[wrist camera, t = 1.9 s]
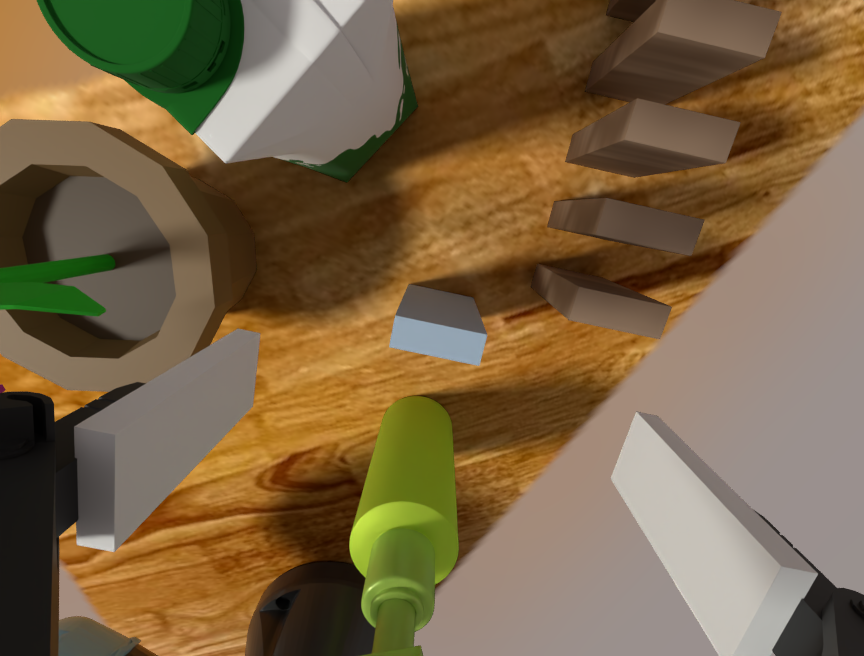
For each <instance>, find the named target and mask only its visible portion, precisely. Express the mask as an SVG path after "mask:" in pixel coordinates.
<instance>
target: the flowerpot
mask: <svg viewBox="0 0 864 656" xmlns="http://www.w3.org/2000/svg"><path fill="white" fill-rule="evenodd" d="M256 270H257V265H256V252H255V238H254V233H253V231H252V229H251V228H250V226H249V225H248V223H247V221H246V220H245V218H244V217H243V215H242V213H241V212H240V210H239V209H238V207H237V205H236V204H235V202H234V200H232V199H230V198H229V197H227V196H225V195H224V194H222V193H220V192H219V191H217V190H215V189H214V188H212V187H211V186H209V185H207V184H206V183H204V182H202V181H201V180H199V179H196V178H193V177H191V176H190V175H189V173H188V172H187V170H186V169H184V168H183V167H181V166H179V165H178V164H176V163H174V162H173V161H171V160H170V159H168V158H166V157H165V156H163V155H161V154H160V153H158V152H156V151H155V150H153V149H152V148H150V147H148V146H147V145H145V144H143V143H142V142H140V141H138V140H137V139H135V138H133V137H132V136H130V135H129V134H127V133H125V132H124V131H122V130H120V129H116V128H112V127H108V126H104V125H100V124H96V123H92V122H81V121H52V120H23V119H11V120H9V121H8V122H7V123H5V124H4V125H2V126H1V127H0V353H1V355H2V356H3V357H5V358H7V359H9V360H11V361H13V362H15V363H17V364H19V365H21V366H23V367H24V368H26V369H28V370H30V371H32V372H34V373H36V374H38V375H40V376H42V377H44V378H46V379H48V380H49V381H51V382H53V383H55V384H57V385H59V386H61V387H63V388H65V389H67V390H81V391H106V392H110V391H112V390H113V389H115V388H118V387H122V386H125V385H128V384H132V383H135V382H142V383H148V382H149V381H151V380H153V379H154V378H156V377H158V376H159V375H161V374H163V373H164V372H166V371H168V370H169V369H171V368H173V367H175V366H176V365H178V364H180V363H181V362H183V361H185V360H186V359H188V358H190V357H191V356H193V355H195V354H196V353H198V352H200V351H201V350H203V349H205V348H206V347H208V346H210V344H211V342H212V340H213V338H214V336H215V334H216V332H217V330H218V328H219V326H220V324H221V322H222V320H223V318H224V316H225V314H226V312H227V311H228V310H229V309H230V308H231V307H233V306H234V305H235V304H236V303H237V302H239V301H240V300H241V299H242V298H243V296H244V294H245V292H246V290H247V288H248V286H249V284H250V282H251V280H252V278H253V276H254V274H255V272H256ZM3 391H5V388H4V387H3V385H0V393H2V392H3Z"/></svg>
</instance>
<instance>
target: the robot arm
mask: <svg viewBox="0 0 864 656" xmlns="http://www.w3.org/2000/svg"><path fill="white" fill-rule="evenodd" d="M259 342H260V333H256V332H251V331H247V330H242V329H236V330H235V331H233V332H231V333H230V334H228V335H226V336H225V337H223V338H221V339H220V340H218V341H216V342H215V343H213V344H211V345H210V346H208V347H206V348H205V349H203V350H201V351H200V352H198V353H196V354H195V355H193V356H191V357H190V358H188V359H186V360H185V361H183V362H181V363H180V364H178V365H176V366H175V367H173V368H171V369H169V370H168V371H166V372H164V373H163V374H161V375H159V376H158V377H156V378H154V379H153V380H151V381H149V382H148V383H142V382H135V383H132V384H128V385H125V386H122V387H118V388H115V389H113V390H112V391H110V392H108V393H106V394H104V395H103V396H101V397H99V399H98V400H96V399H95V400H94V401H92V402H90V403H88V404H86V405H85V407H84V408H82V407H81V408H79V409H78V410H76V411H74V412H72V413H70V414H69V415H67V416H65V417H63V418H61V419H60V420H58V421H56V422H55V421H54V403H53V401H52V399H51V398H50V397H48V396H45V395H43V394H40V393H33V392H4V393H0V656H158V655H156V654H154V653H153V652H151V651H149V650H148V649H146V648H144V647H143V646H141V645H139V644H138V643H140V641H141V640H140V639H138V638H137V637H132V638H128V637H126V636H124V635H122V634H120V633H118V632H116V631H114V630H112V629H110V628H108V627H106V626H104V625H102V624H100V623H98V622H96V621H94V620H92V619H90V618H87V617H81V616H77V617H76V616H75V617H68V618H64V619H61V620H59V536H60V535H61V534H62V533H63V532H65V531H66V530H67V529H68V528H69V527H70V526H72V525H73V524H74V523H75V522H76V530H77V545H80V546H86V547H91V548H96V549H101V550H107V551H112V552H115V551H116V550H117V549H118V548H119V547H120V546H121V544H122V543H123V542H124V541H125V540H126V539H127V538H128V537H129V536H130V535H131V534H132V533H133V532H134V531H135V530H136V529H137V528H138V527H139V526H140V524H141V523H142V522H143V521H144V520H145V519H146V518H147V517H148V516H149V515H150V514H151V513H152V512H153V511H154V510H155V509H156V508H157V507H158V506H159V504H160V503H161V502H162V501H163V500H164V499H165V498H166V497H167V496H168V495H169V494H170V493H171V492H172V491H173V490H174V489H175V488H176V487H177V486H178V484H179V483H180V482H181V481H182V480H183V479H184V478H185V477H186V476H187V475H188V474H189V473H190V472H191V471H192V470H193V469H194V468H195V467H196V466H197V464H198V463H199V462H200V461H201V460H202V459H203V458H204V457H205V456H206V455H207V454H208V453H209V452H210V451H211V450H212V449H213V448H214V447H215V446H216V444H217V443H218V442H219V441H220V440H221V439H222V438H223V437H224V436H225V435H226V434H227V433H228V432H229V431H230V430H231V429H232V428H233V427H234V426H235V424H236V423H237V422H238V421H239V420H240V419H241V418H242V417H243V416H244V415H245V414H246V413H247V412H248V411H249V410H250V409H251V408H252V407H253V399H254V390H255V380H256V370H257V361H258V351H259ZM611 480H612V482H613V483H614V485H615V486H616V488H617V490H618V491H619V493H620V495H621V496H622V498H623V499H624V501H625V503H626V504H627V506H628V508H629V509H630V511H631V513H632V514H633V516H634V517H635V519H636V521H637V522H638V524H639V526H640V527H641V529H642V530H643V532H644V534H645V535H646V537H647V538H648V540H649V542H650V544H651V545H652V546H653V548H654V550H655V552H656V553H657V555H658V557H659V558H660V560H661V562H662V563H663V565H664V566H665V568H666V570H667V571H668V573H669V574H670V576H671V578H672V580H673V581H674V583H675V584H676V586H677V588H678V589H679V591H680V593H681V594H682V596H683V598H684V599H685V601H686V602H687V604H688V606H689V607H690V609H691V611H692V612H693V614H694V615H695V617H696V619H697V620H698V622H699V624H700V625H701V627H702V629H703V630H704V632H705V633H706V635H707V637H708V638H709V640H710V642H711V643H712V645H713V647H714V648H715V650H716V651H717V653H718V655H719V656H771V655H772V653H774V654H775V655H776V656H864V595H863V594H860V593H858V592H856V591H853V590H849V589H845V588H836V587H835V586H834V585H833V584H832V583H831V582H830V581H829V580H828V579H827V578H826V577H825V576H824V575H823V574H822V573H821V572H820V571H819V570H818V569H817V568H816V567H815V566H814V565H813V564H812V563H811V562H810V561H809V560H808V559H807V558H806V557H804V556H803V554H801V553H800V552H799V551H798V550H797V549H796V548H793V545H792V544H791V543H790V542H789V541H788V540H787V539H786V538H785V537H784V536H783V535H780V534H779V533H780V532H779V531H778V530H777V529H776V528H775V527H774V526H773V525H772V524H771V523H770V522H769V521H768V520H766V519H765V518H764V517H763V516H762V515H760V514H759V513H757V512H756V511H755V510H753V509H752V508H751V507H750V506H749V505H748V504H747V503H746V502H745V501H744V500H743V499H741V498H740V496H738V494H737V493H735V492H734V491H733V489H731V488H730V487H729V486H728V485H727V484H726V483H725V482H724V481H723V480H722V479H721V478H720V477H719V476H718V475H717V474H716V473H715V472H714V471H713V470H712V469H711V468H710V467H709V466H708V465H707V464H706V463H705V462H704V461H703V460H702V459H701V458H700V457H699V456H698V455H697V454H696V453H695V452H694V451H693V450H692V449H691V448H690V447H689V446H688V445H687V444H685V443H684V441H683V440H682V439H681V438H680V437H679V436H678V435H677V434H675V432H673V431H672V430H671V429H670V428H669V427H668V426H667V425H666V424H665V423H664V422H663V421H662V420H661V419H660V418H659V417H658V416H656V415H651V414H646V413H641V412H636V414H635V416H634V419H633V421H632V424H631V427H630V429H629V432H628V435H627V438H626V440H625V443H624V445H623V448H622V451H621V453H620V456H619V458H618V461H617V464H616V466H615V469H614V471H613V474H612V477H611ZM365 579H366V578H365V577H364V576H363V575H362V574H361V573H360V572H359V570H358V569H357V568H356V566H355V565H351V564H346V563H339V562H318V563H311V564H306V565H303V566H299V567H297V568H294V569H292V570H290V571H288V572H286V573H284V574H282V575H281V576H279V577H278V578H277V579H275V580H274V581H273V582H272V583H271V584H270V585H269V586H268V588H267V589H266V590H265V592H264V593H263V595H262V597H261V599H260V601H259V603H258V605H257V608H256V610H255V612H254V614H253V616H252V619H251V622H250V625H249V629H248V634H247V642H246V650H245V656H361V655H367V654H372V648H373V641H374V635H375V627H373V626H372V625H371V624H370V623H369V622H368V621H367V620H366V618H365V616H364V614H363V612H362V607H361V600H362V594H363V589H364V584H365Z"/></svg>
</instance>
